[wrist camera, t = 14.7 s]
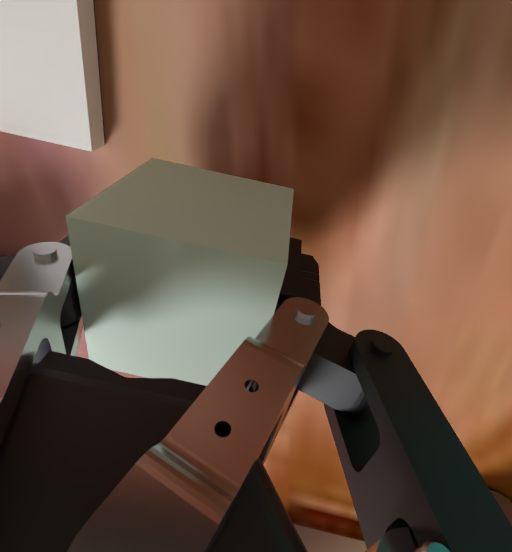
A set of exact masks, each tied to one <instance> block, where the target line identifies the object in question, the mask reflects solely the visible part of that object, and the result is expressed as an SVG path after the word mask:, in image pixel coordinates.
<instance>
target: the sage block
mask: <svg viewBox="0 0 512 552" xmlns="http://www.w3.org/2000/svg"><path fill="white" fill-rule="evenodd" d="M293 194H294V189H293V188H288V187H284V186H279V185H275V184H270V183H265V182H261V181H256V180H252V179H247V178H242V177H238V176H233V175H228V174H224V173H219V172H215V171H210V170H205V169H201V168H196V167H191V166H187V165H182V164H178V163H173V162H168V161H164V160H159V159H154V158H151V159H150V160H148V161H147V162H145V163H144V164H142V165H141V166H139V167H138V168H137V169H135V170H134V171H132V172H131V173H129V174H128V175H126V176H125V177H123V178H122V179H120V180H119V181H117V182H116V183H114V184H113V185H111V186H110V187H108V188H107V189H105V190H104V191H102V192H101V193H99V194H98V195H96V196H95V197H93V198H92V199H90V200H89V201H87V202H86V203H84V204H83V205H81V206H80V207H78V208H77V209H75V210H74V211H72V212H71V213H69V214H68V215H66V216H65V218H66V224H67V230H68V236H69V241H70V247H71V253H72V259H73V265H74V271H75V277H76V283H77V289H78V295H79V301H80V307H81V313H82V319H83V325H84V331H85V337H86V343H87V349H88V355H89V359H90V360H92V361H94V362H96V363H98V364H99V365H101V366H103V367H105V368H107V369H110V370H115V371H119V372H124V373H129V374H133V375H138V376H142V377H147V378H174V379H178V380H183V381H187V382H191V383H196V384H200V385H205V386H207V385H208V384H209V383H210V382H211V380H212V379H213V378H214V377H215V376H216V374H217V373H218V372H219V371H220V369H221V368H222V367H223V366H224V364H225V363H226V362H227V361H228V360H229V358H230V357H231V356H232V355H233V353H234V352H235V351H236V350H237V349H238V347H239V346H240V345H241V344H242V342H243V341H244V340H245V339H246V338H247V337H249V336H250V337H252V338H254V339H255V338H256V337H257V335H258V334H259V333H260V332H261V330H262V329H263V328H264V326H265V325H266V324H267V323H268V321H269V320H270V319H271V317H272V316H273V315H274V312H275V308H276V305H277V301H278V297H279V294H280V290H281V286H282V283H283V279H284V276H285V272H286V268H287V265H288V253H289V241H290V229H291V218H292V206H293Z"/></svg>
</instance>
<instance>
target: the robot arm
mask: <svg viewBox="0 0 512 552" xmlns="http://www.w3.org/2000/svg"><path fill="white" fill-rule="evenodd" d="M82 329H83V319H82V313H81V307H80V301H79V295H78V289H77V283H76V277H75V271H74V265H73V259H72V253H71V247H70V241H69V236H67V237H66V238H65V239H63V240H62V241H61V242H40V243H35V244H31V245H28V246H26V247H24V248H22V249H21V250H20V251H19V252H18V253H17V254H16V256H15V257H11V256H0V552H307V550H306V548H305V546H304V544H303V542H302V540H301V538H300V537H299V535H298V533H297V531H296V529H295V527H294V525H293V523H292V521H291V519H290V517H289V515H288V513H287V511H286V509H285V507H284V505H283V503H282V501H281V499H280V497H279V495H278V493H277V491H276V489H275V487H274V485H273V483H272V481H271V479H270V477H269V475H268V474H267V472H266V470H265V468H264V466H263V464H264V462H265V460H266V458H267V456H268V454H269V451H270V449H271V447H272V445H273V443H274V441H275V438H276V436H277V434H278V432H279V430H280V428H281V426H282V424H283V422H284V420H285V418H286V416H287V414H288V412H289V410H290V408H291V406H292V404H293V402H294V400H295V398H296V396H297V394H298V392H299V390H300V391H302V392H304V393H306V394H308V395H310V396H311V397H313V398H315V399H317V400H319V401H321V402H322V403H324V407H325V411H326V414H327V417H328V421H329V424H330V427H331V431H332V434H333V437H334V441H335V444H336V447H337V451H338V454H339V457H340V461H341V464H342V467H343V470H344V474H345V477H346V480H347V484H348V487H349V490H350V494H351V497H352V500H353V504H354V507H355V510H356V514H357V517H358V520H359V523H360V527H361V530H362V533H363V537H364V540H365V543H366V547H367V550H366V551H365V552H512V502H511V501H510V500H509V499H508V498H507V497H505V496H503V495H501V494H500V493H497V492H495V491H492V490H490V489H489V488H488V486H487V484H486V483H485V481H484V479H483V478H482V476H481V474H480V473H479V471H478V469H477V468H476V466H475V465H474V463H473V461H472V460H471V458H470V456H469V455H468V453H467V451H466V450H465V448H464V447H463V445H462V443H461V442H460V440H459V438H458V437H457V435H456V433H455V432H454V430H453V429H452V427H451V425H450V424H449V422H448V420H447V419H446V417H445V415H444V414H443V412H442V411H441V409H440V407H439V406H438V404H437V402H436V401H435V399H434V397H433V396H432V394H431V392H430V391H429V389H428V388H427V386H426V384H425V383H424V381H423V379H422V378H421V376H420V374H419V373H418V371H417V370H416V368H415V366H414V365H413V363H412V361H411V360H410V358H409V356H408V355H407V353H406V352H405V350H404V348H403V347H402V346H401V345H400V344H399V343H398V342H397V341H396V340H395V339H394V338H392V337H391V336H389V335H387V334H385V333H383V332H380V331H376V330H363V331H361V332H359V333H358V334H357V335H356V337H354V336H351V335H349V334H347V333H345V332H343V331H341V330H339V329H337V328H336V327H334V326H333V325H332V324H330V323H329V317H328V314H327V312H326V311H325V309H324V308H323V307H322V306H321V298H320V282H319V265H318V263H317V262H316V260H315V259H314V258H313V256H310V255H306V254H301V240H299V239H295V238H290V241H289V253H288V265H287V268H286V272H285V276H284V279H283V283H282V286H281V290H280V294H279V297H278V301H277V305H276V308H275V312H274V315H273V316H272V317H271V319H270V320H269V321H268V323H267V324H266V325H265V326H264V328H263V329H262V330H261V332H260V333H259V334H258V335H257V337H256V338H255V339H254V338H252V337H250V336H249V337H247V338H246V339H245V340H244V341H243V342H242V344H241V345H240V346H239V347H238V349H237V350H236V351H235V352H234V353H233V355H232V356H231V357H230V358H229V360H228V361H227V362H226V363H225V364H224V366H223V367H222V368H221V369H220V371H219V372H218V373H217V374H216V376H215V377H214V378H213V379H212V380H211V382H210V383H209V384H208V385H207V386H205V385H200V384H196V383H191V382H187V381H183V380H178V379H174V378H126V377H123V376H121V375H119V374H117V373H115V372H113V371H111V370H109V369H107V368H105V367H103V366H101V365H99V364H98V363H96V362H94V361H92V360H90V359H85V358H81V357H76V353H77V349H78V345H79V341H80V337H81V333H82Z"/></svg>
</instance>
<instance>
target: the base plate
mask: <svg viewBox="0 0 512 552" xmlns="http://www.w3.org/2000/svg"><path fill="white" fill-rule="evenodd" d="M0 131H2V132H6V133H11V134H15V135H20V136H24V137H29V138H33V139H38V140H42V141H47V142H51V143H56V144H60V145H65V146H69V147H74V148H78V149H82V150H87V151H91V152H92V151H94V150H96V149H98V148H100V147H102V146H104V145H105V144H104V131H103V118H102V105H101V93H100V80H99V67H98V55H97V42H96V29H95V17H94V4H93V0H0Z"/></svg>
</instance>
